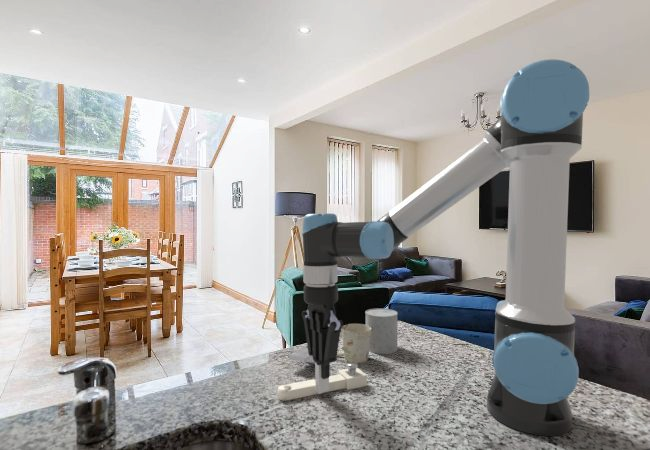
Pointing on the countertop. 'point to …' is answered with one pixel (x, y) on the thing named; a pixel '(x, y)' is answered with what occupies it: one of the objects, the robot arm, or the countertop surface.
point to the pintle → (352, 368)
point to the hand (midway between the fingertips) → (322, 391)
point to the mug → (355, 342)
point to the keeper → (302, 356)
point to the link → (334, 384)
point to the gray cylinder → (382, 330)
